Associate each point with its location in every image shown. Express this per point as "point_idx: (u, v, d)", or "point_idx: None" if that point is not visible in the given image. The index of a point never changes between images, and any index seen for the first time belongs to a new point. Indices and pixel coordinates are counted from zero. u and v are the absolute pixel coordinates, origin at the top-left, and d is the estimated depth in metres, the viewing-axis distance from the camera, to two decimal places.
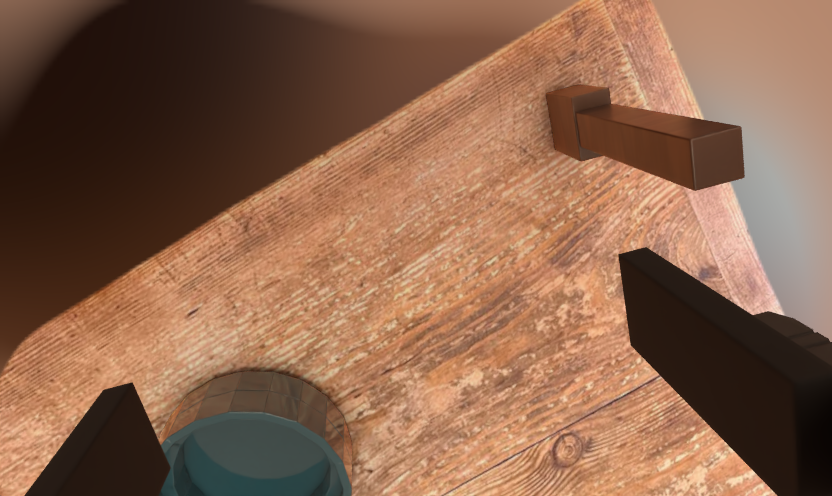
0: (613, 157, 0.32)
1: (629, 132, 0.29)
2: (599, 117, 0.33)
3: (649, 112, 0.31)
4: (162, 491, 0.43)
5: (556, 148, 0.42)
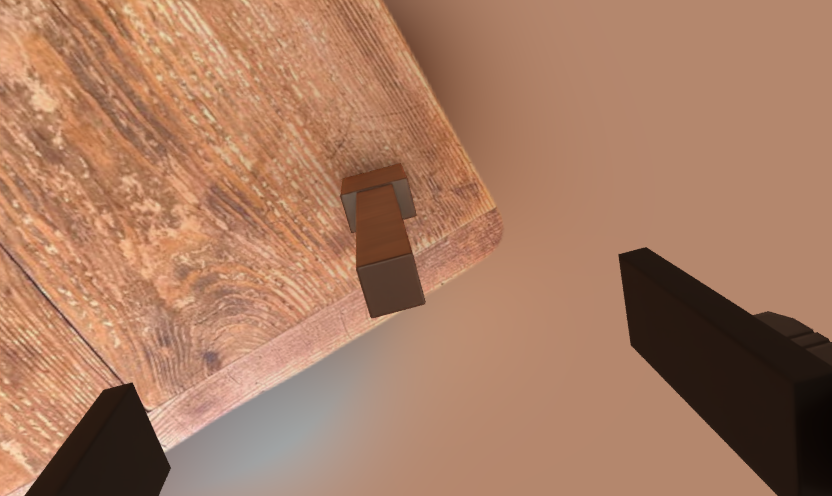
0: (359, 213, 0.30)
1: (393, 217, 0.28)
2: (396, 198, 0.31)
3: None
4: None
5: (344, 179, 0.39)
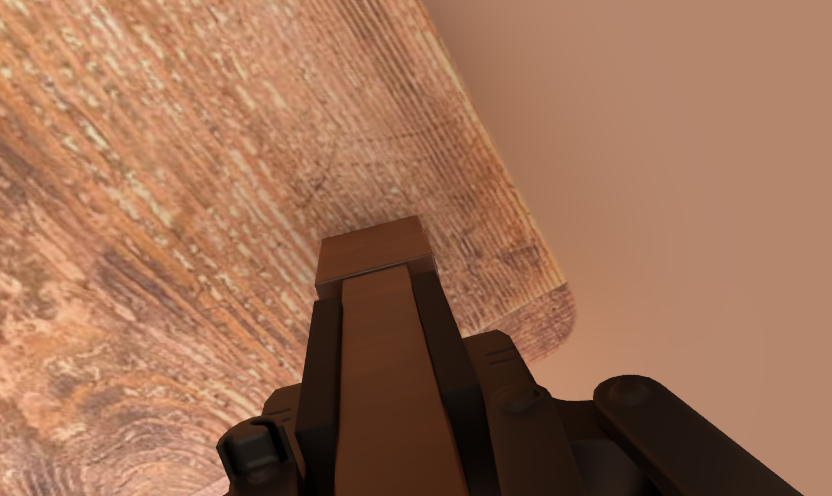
0: (346, 349, 0.15)
1: (420, 381, 0.12)
2: None
3: None
4: None
5: (325, 241, 0.24)
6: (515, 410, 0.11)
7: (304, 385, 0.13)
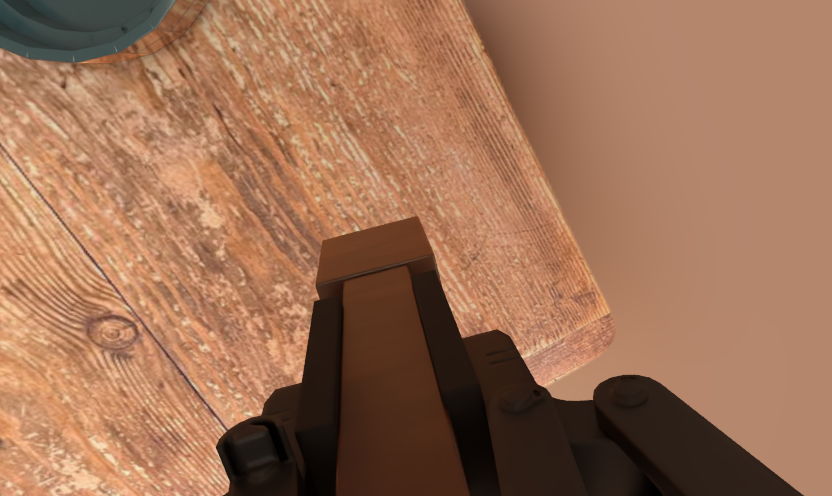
0: (346, 351, 0.15)
1: (421, 382, 0.12)
2: None
3: None
4: None
5: (326, 242, 0.24)
6: (515, 409, 0.11)
7: (304, 385, 0.13)
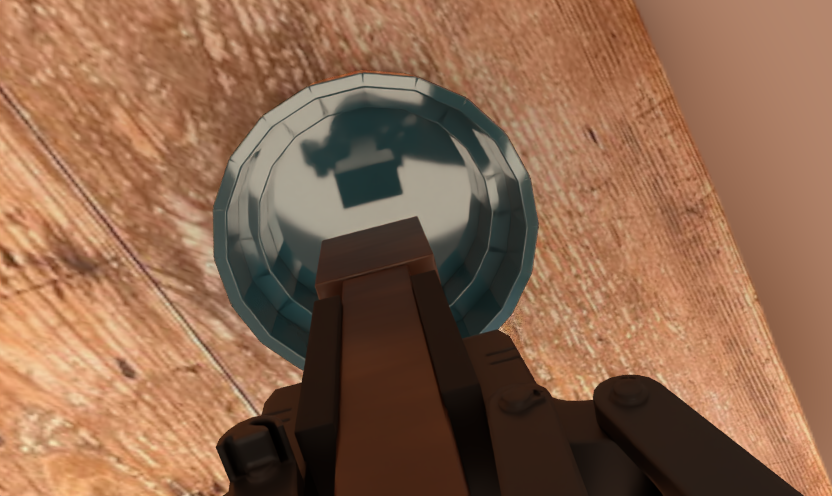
0: (345, 351, 0.15)
1: (421, 383, 0.12)
2: None
3: None
4: None
5: (325, 242, 0.24)
6: (515, 409, 0.11)
7: (304, 385, 0.13)
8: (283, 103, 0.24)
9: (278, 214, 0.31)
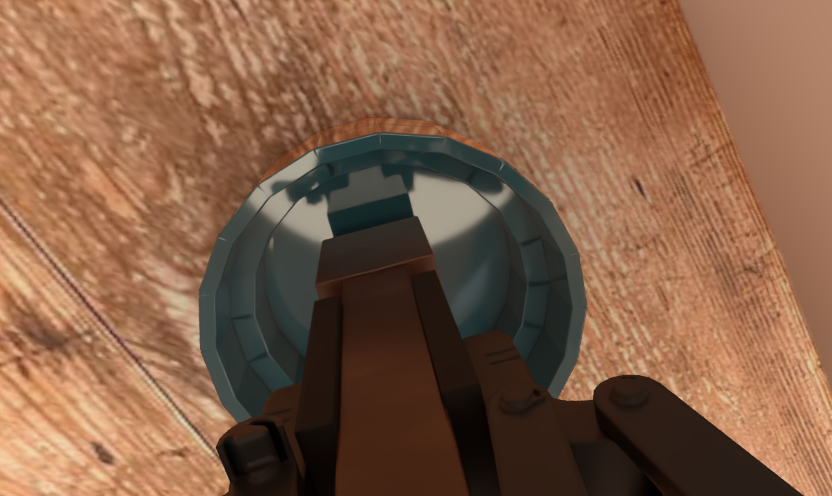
0: (346, 351, 0.15)
1: (421, 382, 0.12)
2: None
3: None
4: None
5: (325, 241, 0.24)
6: (515, 409, 0.11)
7: (304, 385, 0.13)
8: (283, 170, 0.20)
9: (277, 281, 0.27)
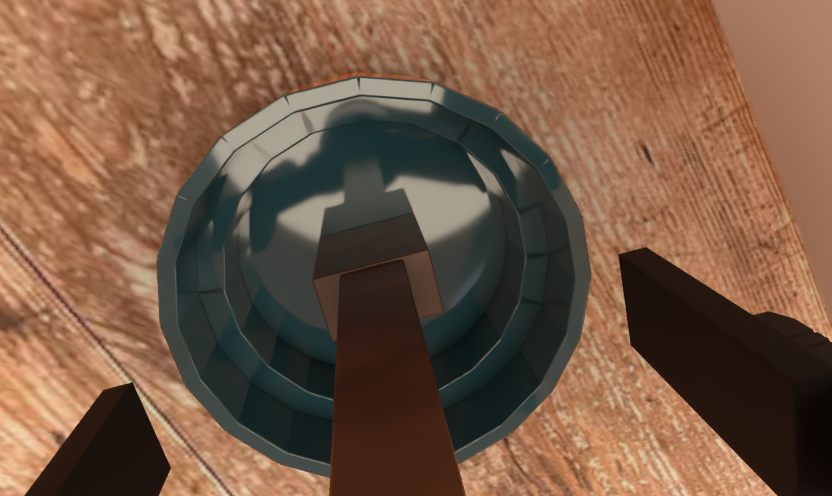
0: (342, 343, 0.15)
1: (415, 372, 0.13)
2: (414, 302, 0.17)
3: None
4: None
5: (323, 238, 0.24)
6: None
7: None
8: (250, 118, 0.18)
9: (252, 255, 0.24)
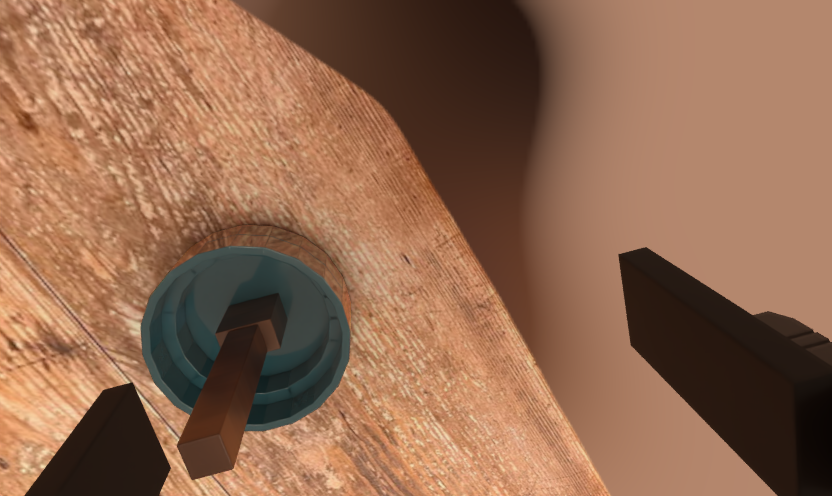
0: (214, 366, 0.37)
1: (233, 378, 0.35)
2: (250, 348, 0.39)
3: (253, 389, 0.37)
4: None
5: (229, 307, 0.46)
6: None
7: None
8: (181, 264, 0.40)
9: (193, 315, 0.47)
